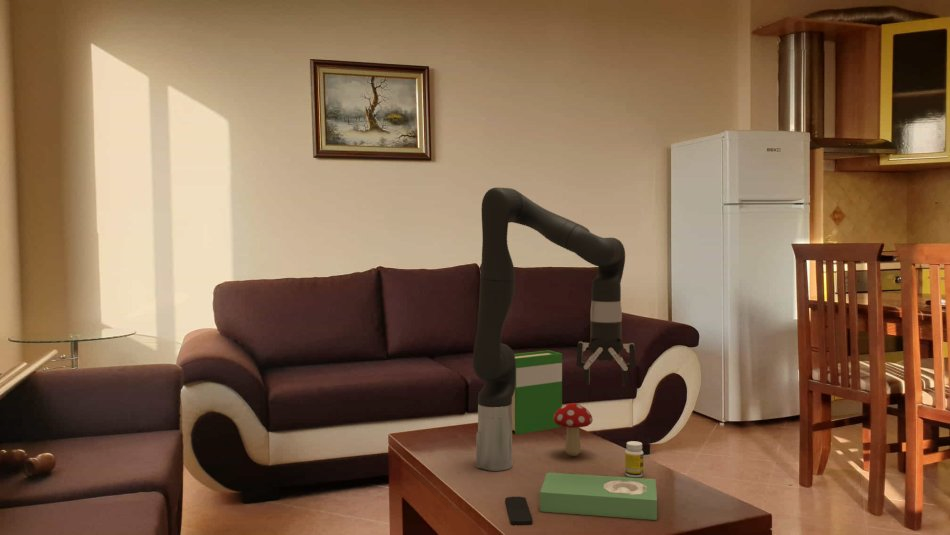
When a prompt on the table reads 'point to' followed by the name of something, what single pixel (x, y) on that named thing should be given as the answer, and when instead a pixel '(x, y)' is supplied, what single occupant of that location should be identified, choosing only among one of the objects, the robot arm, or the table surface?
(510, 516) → the remote control
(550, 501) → the green flat block
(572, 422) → the decorative mushroom
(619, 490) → the ball
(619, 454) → the table surface
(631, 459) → the supplement bottle
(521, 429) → the hardback book
